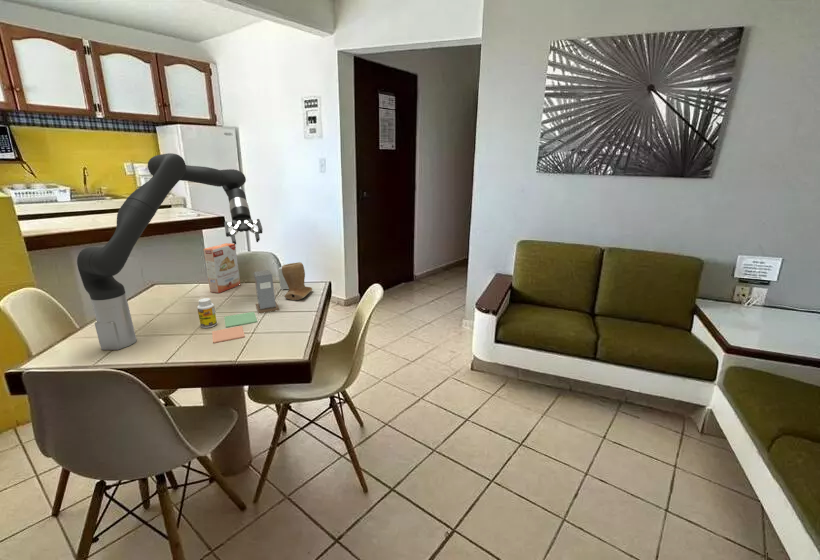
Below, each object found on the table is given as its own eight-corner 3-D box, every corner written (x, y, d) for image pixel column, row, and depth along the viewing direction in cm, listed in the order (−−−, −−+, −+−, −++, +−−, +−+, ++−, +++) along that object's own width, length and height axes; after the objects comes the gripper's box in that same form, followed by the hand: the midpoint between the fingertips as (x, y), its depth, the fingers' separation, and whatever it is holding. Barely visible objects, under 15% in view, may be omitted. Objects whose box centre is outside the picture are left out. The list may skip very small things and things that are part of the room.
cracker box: (219, 293, 185) (212, 249, 179) (209, 292, 187) (202, 248, 181) (241, 284, 197) (235, 243, 191) (232, 283, 199) (225, 242, 193)
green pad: (257, 322, 151) (257, 321, 151) (225, 327, 147) (225, 326, 146) (254, 312, 161) (254, 311, 161) (224, 317, 156) (224, 316, 156)
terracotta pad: (244, 337, 138) (244, 336, 138) (213, 343, 134) (212, 342, 134) (242, 327, 147) (242, 325, 147) (212, 332, 143) (212, 331, 143)
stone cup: (290, 290, 188) (287, 259, 184) (315, 290, 187) (312, 259, 182) (277, 301, 173) (273, 268, 169) (303, 301, 172) (300, 268, 168)
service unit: (279, 310, 163) (274, 274, 159) (258, 313, 160) (253, 277, 155) (275, 303, 171) (271, 269, 166) (255, 306, 167) (251, 271, 163)
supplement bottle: (197, 328, 146) (193, 302, 143) (204, 322, 152) (200, 297, 149) (213, 328, 146) (208, 302, 143) (219, 322, 152) (215, 297, 149)
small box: (292, 290, 188) (289, 268, 185) (280, 290, 188) (277, 268, 185) (297, 284, 196) (294, 264, 193) (285, 285, 196) (283, 264, 193)
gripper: (220, 206, 164) (227, 238, 157) (257, 204, 170) (264, 235, 164) (222, 217, 170) (228, 249, 164) (257, 215, 176) (264, 245, 170)
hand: (246, 242), depth 164 cm, fingers open, 8 cm apart
